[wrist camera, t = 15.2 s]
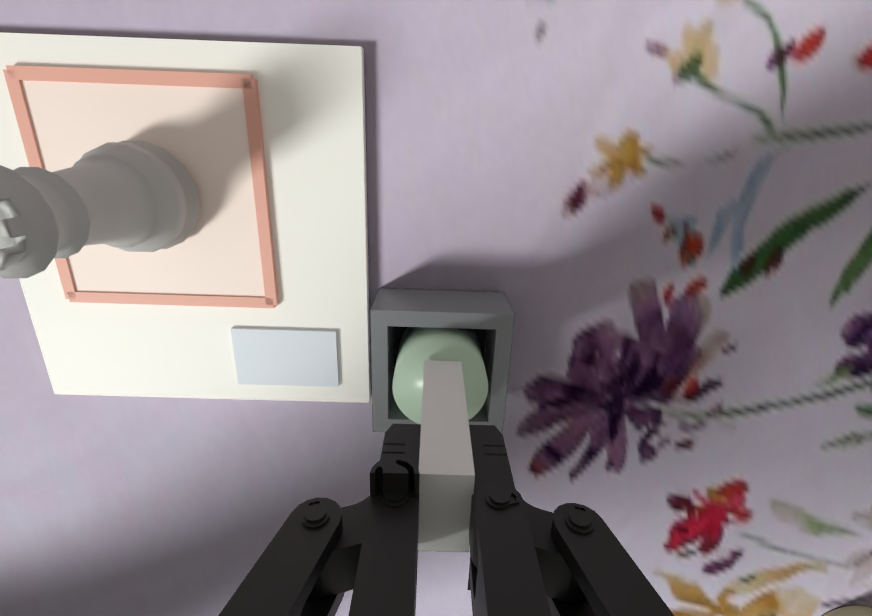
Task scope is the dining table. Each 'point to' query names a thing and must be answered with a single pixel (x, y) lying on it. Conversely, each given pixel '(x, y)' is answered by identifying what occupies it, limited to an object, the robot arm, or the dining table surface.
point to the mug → (851, 611)
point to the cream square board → (205, 216)
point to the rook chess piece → (94, 206)
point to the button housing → (440, 313)
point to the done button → (437, 347)
